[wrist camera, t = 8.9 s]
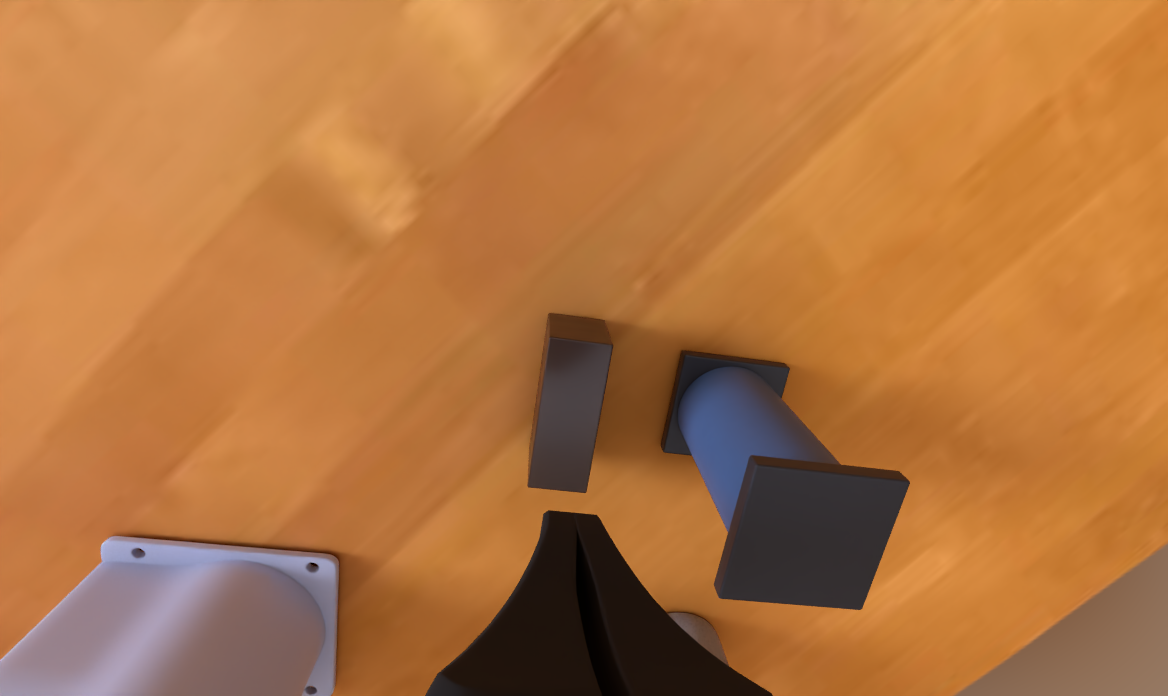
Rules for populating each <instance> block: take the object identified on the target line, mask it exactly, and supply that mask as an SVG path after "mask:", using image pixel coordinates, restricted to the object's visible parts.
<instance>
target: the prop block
mask: <svg viewBox="0 0 1168 696" xmlns="http://www.w3.org/2000/svg"><path fill="white" fill-rule="evenodd" d="M612 349H613V344H612V341H611V338H610V335H609V332H608V329H607V326H606V323H605V321H604V320H598V319H590V318H583V317H575V316H568V315H560V314H553V313H549V314H548V320H547V327H546V334H545V341H544V348H543V355H542V362H541V369H540V376H539V383H538V390H537V397H536V404H535V411H534V418H533V425H532V432H531V439H530V446H529V464H528V487H531V488H541V489H550V490H560V491H570V492H580V493H586V492H587V486H588V481H589V475H590V470H591V464H592V459H593V453H594V448H595V442H596V437H597V431H598V426H599V420H600V415H601V410H602V404H603V399H604V393H605V388H606V382H607V377H608V371H609V366H610V360H611V355H612Z"/></svg>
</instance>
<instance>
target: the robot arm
mask: <svg viewBox="0 0 1168 696" xmlns="http://www.w3.org/2000/svg"><path fill="white" fill-rule="evenodd" d="M138 548H140V549H142V550H143V551H144V552H141V551H140V550H139V549H138ZM101 557H102V562H101V563H100V564H99V565H98V566H97V567H96V568H95V569H94V570H93V571H92V572H91V573H90V574H89V575H88V576H87V577H86V578H85V579H84V580H83V581H82V582H81V583H80V584H79V585H78V586H76V587H75V588H74V589H73V590H72V591H71V592H70V593H69V594H68V595H67V596H66V597H65V598H64V599H63V600H62V601H61V602H60V603H59V604H58V605H57V606H56V607H55V608H54V609H53V610H52V611H51V612H50V613H49V614H47V615H46V616H45V617H44V618H43V619H42V620H41V621H40V622H39V623H38V624H37V625H36V626H35V627H34V628H33V629H32V630H31V631H30V632H29V633H28V634H27V635H26V636H25V637H24V638H23V639H22V640H21V641H20V642H18V643H17V644H16V645H15V646H14V647H13V648H12V649H11V650H10V651H9V652H8V653H7V654H6V655H5V656H4V657H3V658H2V659H1V660H0V696H331V695H332V694H333V691H334V688H335V684H336V651H337V619H338V586H339V561H338V559H337V558H336V557H335V556H333V555H330V554H324V553H312V552H301V551H289V550H277V549H265V548H253V547H242V546H230V545H218V544H206V543H195V542H183V541H171V540H159V539H147V538H136V537H124V536H112V537H110V538H108V539H107V540H106V541H105V542H104V543H103V544H102V545H101ZM310 563H316V564H317V565H318V566H312V565H311V564H310ZM311 686H313V687H311ZM425 696H773V695H772V693H770V692H769V691H767V690H765V689H764V688H762V687H760V686H759V685H757V684H756V683H754V682H752V681H751V680H749V679H748V678H746V677H744V676H743V675H741V674H739V673H738V672H736V671H735V670H733V669H732V668H731V667H729V666H728V665H727V664H725V663H724V662H722V661H721V660H720V659H718V658H717V657H716V656H714V655H713V654H712V653H710V652H709V651H708V650H707V649H705V648H704V647H703V646H702V645H700V644H699V643H698V642H697V641H696V640H695V639H694V638H692V637H691V636H690V635H689V634H688V633H687V632H686V631H684V630H683V629H682V628H681V627H680V626H679V625H678V624H677V623H676V622H675V621H674V620H673V619H672V618H671V617H670V616H669V615H668V614H667V613H666V612H665V611H664V610H663V609H662V608H661V606H660V605H659V604H658V603H657V602H656V601H655V600H654V599H653V598H652V596H651V595H650V594H649V593H648V591H647V590H646V589H645V588H644V586H643V585H642V584H641V582H640V581H639V580H638V578H637V577H636V576H635V574H634V573H633V571H632V570H631V569H630V567H629V566H628V564H627V563H626V561H625V560H624V558H623V557H622V555H621V554H620V552H619V551H618V549H617V547H616V546H615V544H614V543H613V541H612V539H611V538H610V536H609V534H608V532H607V531H606V529H605V527H604V525H603V524H602V522H601V520H600V519H599V517H598V516H597V515H591V514H581V513H571V512H560V511H550V510H549V511H547V512H546V513H544V514H543V521H542V527H541V533H540V538H539V541H538V544H537V546H536V548H535V551H534V553H533V556H532V558H531V560H530V562H529V564H528V566H527V568H526V570H525V572H524V574H523V576H522V577H521V579H520V581H519V583H518V585H517V586H516V588H515V590H514V591H513V593H512V594H511V596H510V597H509V599H508V600H507V602H506V603H505V605H504V606H503V607H502V609H501V610H500V611H499V613H498V614H497V615H496V617H495V618H494V619H493V620H492V622H491V623H490V624H489V625H488V626H487V628H486V629H485V630H484V631H483V632H482V633H481V634H480V635H479V636H478V637H477V638H476V639H475V640H474V642H473V643H472V644H471V645H470V646H469V647H468V648H467V649H466V650H465V651H464V652H463V653H462V654H461V655H459V656H458V657H457V658H456V659H455V660H454V661H452V662H451V663H450V664H449V665H448V666H446V667H445V668H444V669H443V670H442V671H441V672H439V673H438V674H437V676H436V677H435V679H434V681H433V683H432V684H431V686H430V688H429V690H428V691H427V693H426V695H425Z"/></svg>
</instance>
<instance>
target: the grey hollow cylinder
mask: <svg viewBox="0 0 1168 696" xmlns="http://www.w3.org/2000/svg"><path fill="white" fill-rule="evenodd" d="M668 615H669V616H670V617H671V618H672V619H673V620H674V621H675V622H676V623H677V624H678V625H679V626H680V627H681V628H682V629H683V630H684V631H686V632H687V633H688V634H689V635H690V636H691V637H692V638H694V639H695V640H696V641H697V642H698V643H699V644H700V645H702V646H703V647H704V648H705V649H707V650H708V651H709V652H710V653H712V654H713V655H714V656H716V657H717V658H718V659H720V660H721V661H722V662H724V663H725V664H727V665H728V662H727V659H726V656H725V654H724V651H723V648H722V645H721V642H720V640H719V638H718V635H717V633H716V631H715V629H714V628H713V627H712V625H711V624H710V623H708V622H707V621H706V620H704V619H703V618H701V617H699V616H696V615H693V614H689V613H668ZM728 666H729V665H728Z"/></svg>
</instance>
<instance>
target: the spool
mask: <svg viewBox="0 0 1168 696" xmlns="http://www.w3.org/2000/svg"><path fill="white" fill-rule="evenodd" d="M789 370H790V368H789V367H788V366H787V365H786V364H784V363H777V362H770V361H762V360H754V359H746V358H738V357H731V356H723V355H715V354H707V353H700V352H692V351H682V352H681V357H680V361H679V366H678V370H677V375H676V379H675V384H674V388H673V393H672V397H671V402H670V406H669V411H668V415H667V420H666V424H665V429H664V433H663V438H662V442H661V447H662V450H663V452H665V453H674V454H683V455H692V456H693V458H694V461H695V463H696V465H697V467H698V469H699V471H700V473H701V475H702V478H703V480H704V482H705V484H706V486H707V488H708V490H709V493H710V495H711V497H712V499H713V501H714V503H715V505H716V508H717V510H718V512H719V514H720V516H721V518H722V520H723V523H724V525H725V527H726V529H727V531H728V535H727V539H726V543H725V546H724V550H723V553H722V557H721V561H720V564H719V568H718V571H717V575H716V579H715V582H714V587H715V589H716V592H717V594H718V597H719V598H721V599H732V600H744V601H756V602H769V603H781V604H793V605H806V606H818V607H830V608H843V609H855V610H861V609H862V608H863V605H864V602H865V600H866V597H867V594H868V592H869V589H870V587H871V584H872V581H873V579H874V576H875V573H876V571H877V568H878V566H879V563H880V560H881V558H882V555H883V552H884V550H885V547H886V545H887V542H888V539H889V537H890V534H891V531H892V529H893V526H894V524H895V521H896V518H897V516H898V513H899V510H900V508H901V505H902V502H903V500H904V497H905V495H906V492H907V489H908V487H909V484H910V482H909V480H908V479H907V478H906V477H905V476H903V475H902V474H901V473H900V472H899V471H893V470H884V469H875V468H866V467H856V466H847V465H841V464H840V463H839V462H838V461H837V460H836V459H835V458H834V456H833V455H832V454H831V453H830V452H829V451H828V450H827V449H826V448H825V446H824V445H823V444H822V443H821V442H820V441H819V440H818V439H817V438H816V437H815V435H814V434H813V433H812V432H811V431H810V430H809V429H808V428H807V427H806V426H805V424H804V423H803V422H802V421H801V420H800V419H799V418H798V417H797V416H796V414H795V413H794V412H793V411H792V410H791V409H790V408H789V407H788V406H787V405H786V403H785V402H784V401H783V400H782V399H781V398H782V395H783V391H784V388H785V384H786V381H787V377H788V374H789Z"/></svg>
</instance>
